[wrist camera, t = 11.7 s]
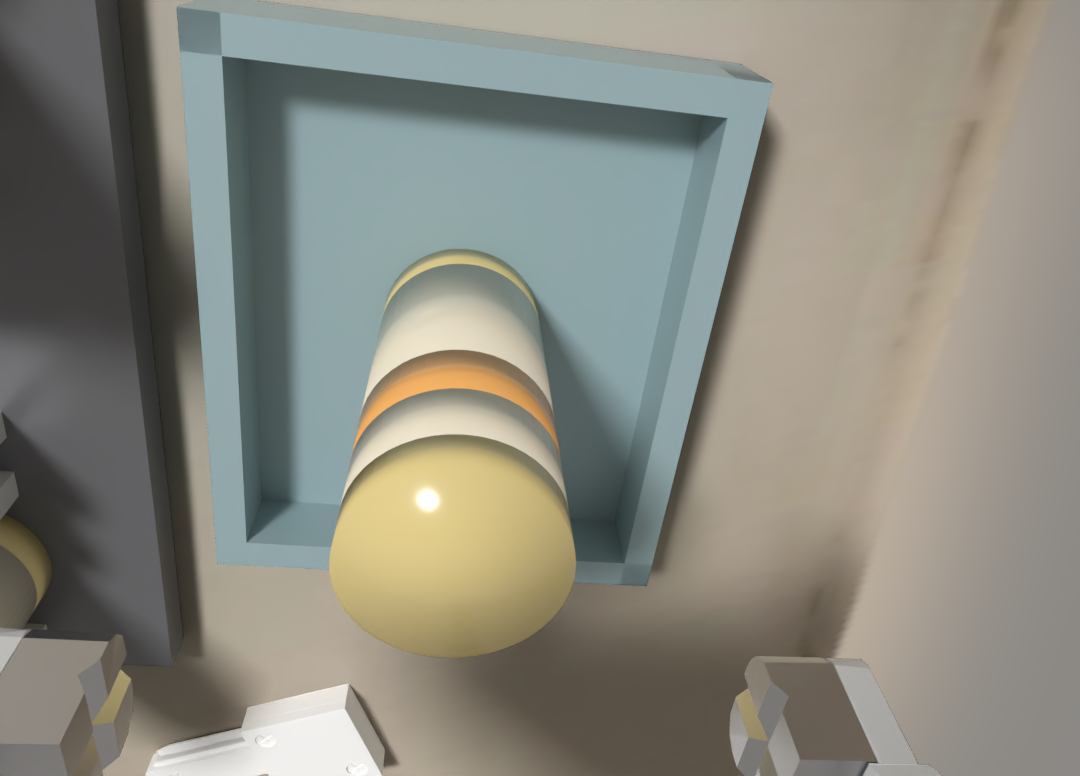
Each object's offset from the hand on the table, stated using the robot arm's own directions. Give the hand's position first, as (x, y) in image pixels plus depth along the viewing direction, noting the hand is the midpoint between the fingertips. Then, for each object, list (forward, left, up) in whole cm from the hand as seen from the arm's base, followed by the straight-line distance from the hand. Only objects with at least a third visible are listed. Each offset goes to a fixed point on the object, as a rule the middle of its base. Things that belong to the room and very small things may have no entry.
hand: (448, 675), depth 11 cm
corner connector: (+20, -5, -14) cm, 25 cm away
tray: (+1, 0, -13) cm, 13 cm away
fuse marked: (+1, 0, -12) cm, 12 cm away
